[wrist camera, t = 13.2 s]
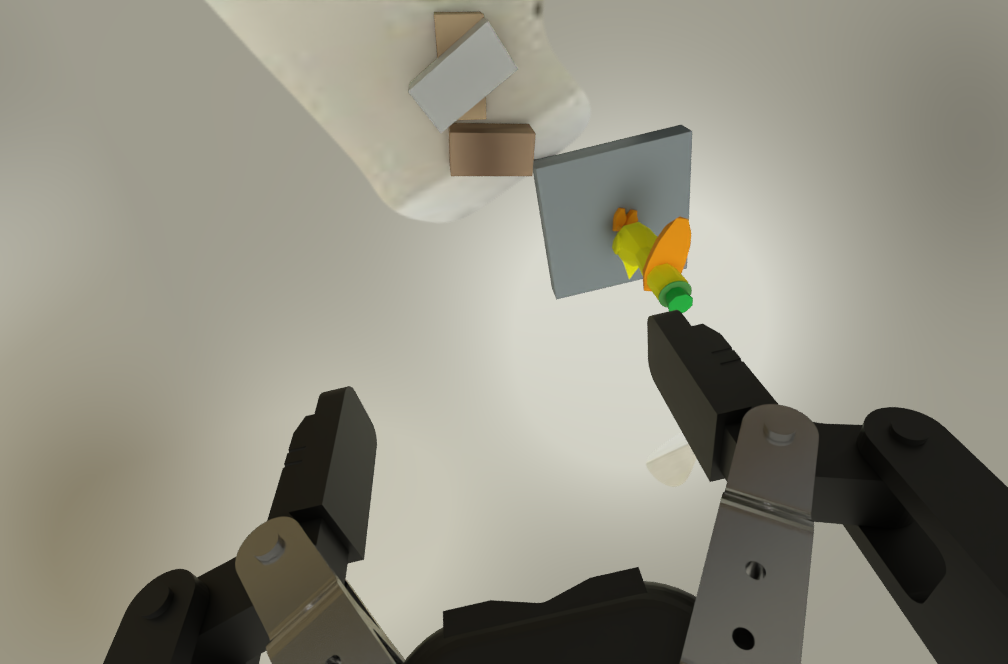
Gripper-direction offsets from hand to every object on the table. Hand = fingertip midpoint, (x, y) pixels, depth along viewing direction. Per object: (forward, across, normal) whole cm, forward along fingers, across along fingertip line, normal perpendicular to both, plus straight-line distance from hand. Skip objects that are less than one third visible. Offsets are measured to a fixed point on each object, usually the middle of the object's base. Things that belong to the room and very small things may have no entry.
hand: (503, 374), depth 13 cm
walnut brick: (+28, -2, +2) cm, 28 cm away
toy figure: (+26, -12, +10) cm, 30 cm away
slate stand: (+28, -11, +10) cm, 32 cm away
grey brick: (+25, -1, -4) cm, 26 cm away
